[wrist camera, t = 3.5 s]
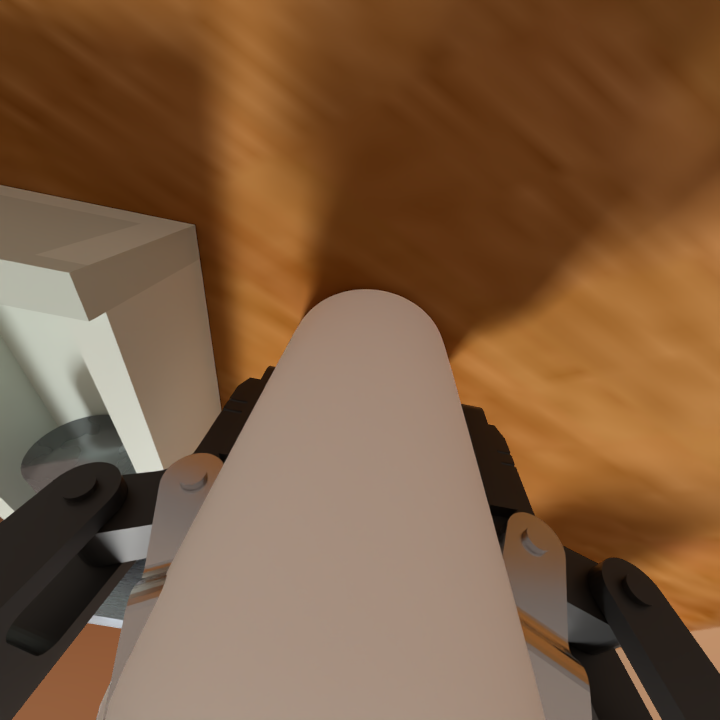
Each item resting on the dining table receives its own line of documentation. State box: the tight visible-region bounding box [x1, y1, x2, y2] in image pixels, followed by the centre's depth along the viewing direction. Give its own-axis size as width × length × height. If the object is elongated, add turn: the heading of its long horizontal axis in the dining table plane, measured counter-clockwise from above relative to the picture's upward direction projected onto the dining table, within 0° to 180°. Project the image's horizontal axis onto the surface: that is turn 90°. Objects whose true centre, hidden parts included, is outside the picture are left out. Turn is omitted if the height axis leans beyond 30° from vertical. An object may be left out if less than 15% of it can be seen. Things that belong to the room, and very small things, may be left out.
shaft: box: [21, 415, 146, 628], centre depth 16 cm, size 5×10×6 cm, turn 170°
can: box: [96, 289, 545, 720], centre depth 8 cm, size 6×6×12 cm
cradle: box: [0, 185, 222, 519], centre depth 14 cm, size 10×20×5 cm, turn 170°
